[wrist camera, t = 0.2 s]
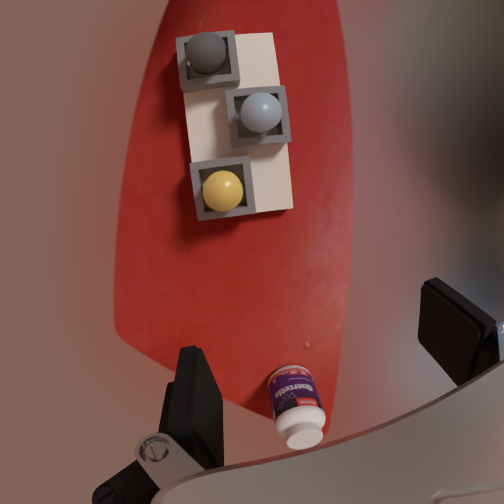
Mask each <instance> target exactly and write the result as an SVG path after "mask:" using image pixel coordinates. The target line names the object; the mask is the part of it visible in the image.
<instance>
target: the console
mask: <svg viewBox="0 0 504 504" xmlns="http://www.w3.org/2000/svg"><path fill="white" fill-rule="evenodd" d="M212 33H215V34H217V35H219V36H220V37H221V38H222V39H223V40H224V42H225V46H226V60H225V64H224V66H223V67H222V68H221V69H220V70H219V71H218V72H216V73H213V74H210V75H204V74H200V73H197V72H196V71H194V70H193V68H192V67H191V65H190V62H189V60H188V57H187V55H186V45H187V43H188V41H189V40H190V39H191V38H192V37H193V36H195V35H190V36H184V37H179V38H176V47H177V59H178V70H179V81H180V89H181V90H182V91H183V94H184V103H185V112H186V120H187V129H188V137H189V145H190V152H191V160H192V163H189V165H190V172H191V179H192V186H193V192H194V199H195V205H196V212H197V218H198V221H204V220H211V219H218V218H225V217H232V216H240V215H247V214H255V213H257V212H265V211H273V210H282V209H290V208H293V201H292V189H291V178H290V168H289V158H288V149H287V142H292V141H291V132H290V123H289V115H288V107H287V99H286V91H285V85H282V86H280V82H279V75H278V68H277V61H276V54H275V47H274V41H273V34H272V33H255V34H240V35H235V33H234V30H228V31H219V32H212ZM259 92H264V93H268V94H271V95H273V96H274V97H275V98H276V99H277V100H278V101H279V102H280V104H281V107H282V117H281V119H280V121H279V123H278V124H277V125H276V126H275V127H273V128H272V129H270V130H268V131H266V132H263V133H253V132H250V131H248V130H247V129H246V128H245V127H244V126H243V125H242V123H241V121H240V111H241V108H242V105H243V103H244V101H245V100H246V98H247V97H249V96H250V95H252V94H254V93H259ZM219 170H228V171H231V172H233V173H234V174H235V175H236V176H237V177H238V178H239V180H240V182H241V184H242V188H243V196H242V199H241V201H240V203H239V204H238V205H237V206H236V207H235V208H233V209H232V210H229V211H225V212H221V211H216V210H214V209H212V208H210V207H209V206H208V205H207V204H206V202H205V200H204V198H203V186H204V184H205V182H206V180H207V179H208V178H209V176H210V175H211V174H212V173H214V172H216V171H219Z"/></svg>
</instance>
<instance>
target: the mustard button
mask: <svg viewBox="0 0 504 504" xmlns="http://www.w3.org/2000/svg"><path fill="white" fill-rule="evenodd" d="M242 196H243V188H242V184H241V182H240V180H239V178H238V177H237V176H236V175H235V174H234V173H233V172H231V171H228V170H219V171H216V172H214V173H212V174H211V175H210V176H209V178H208V179H207V180H206V182H205V184H204V186H203V198H204V200H205V202H206V204H207V205H208V206H209V207H210V208H212V209H214V210H216V211H221V212H225V211H229V210H232V209H233V208H235V207H236V206H237V205H238V204H239V203H240V201H241V199H242Z"/></svg>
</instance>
